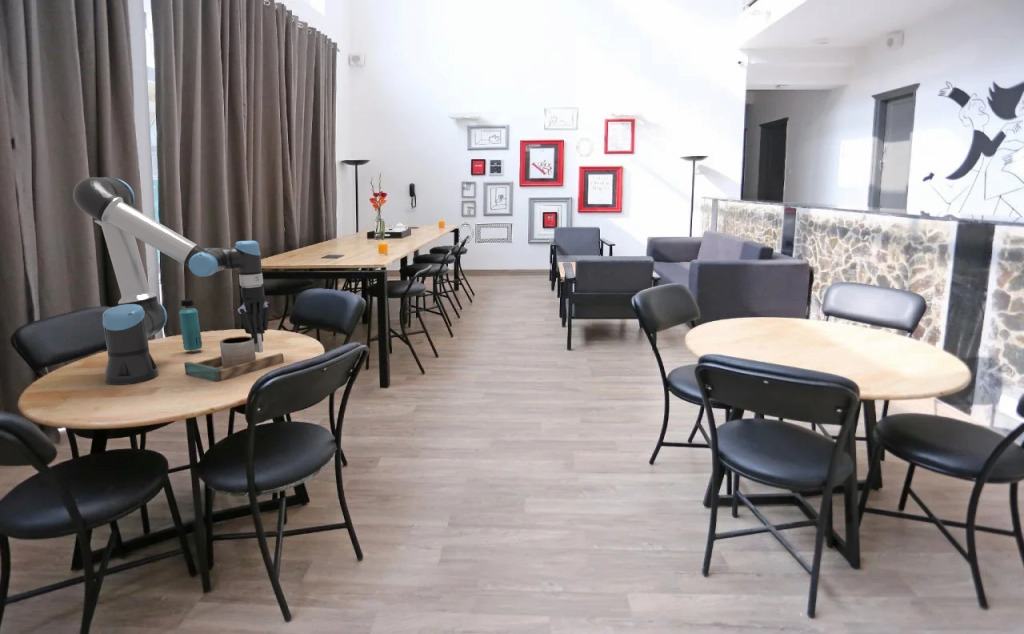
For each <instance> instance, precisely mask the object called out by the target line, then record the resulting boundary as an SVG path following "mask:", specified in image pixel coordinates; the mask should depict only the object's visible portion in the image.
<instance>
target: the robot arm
mask: <svg viewBox="0 0 1024 634" xmlns="http://www.w3.org/2000/svg"><path fill="white" fill-rule="evenodd" d="M72 194H73V195H72V197H73V201H74V203H75V205H76V206H77V208H79V210H80V211H82V212H83V213H85V215H86V214H87V215H88V216H90V217H91V218H93V221H94V223H96V224H98V225H99V226H100V227H101V230H102V232H103V236H104V239H105V242H106V248H107V250H108V254H109V257H110V260H111V263H112V267H113V271H114V274H115V278H116V281H117V284H118V288H119V291H120V296H121V298H120V299H119V300H118V301H117V303H118V305H117V306H112V307H110V308H108V309H107V308H106V310H105V311H104V312H103V313H102V326H103V331H104V338H105V343H106V344H105V345H106V350H107V351H106V352H107V363H106V367H105V373H104V381H105V383H106V384H110V385H128V384H136V383H141V382H146V381H148V380H152V379H154V378H155V377H157V376H158V375H159V368H158V366H157V363H156V362H155V360H154V358H153V357H152V354H151V353H150V348H149V346H150V345H149V339H148V338H150V337H152V336H154V335H157V334H158V333H159V332H160V331H161V330H162V329H163V328H164V327H165V326H166V323H167V320H168V313H167V311H166V308H165V306H164V305H162V304H161V303H160V302H159V300H158V297H157V294H156V293H154V292H152V291H151V290H150V285H149V283H148V279H147V275H146V272H145V268H144V264H143V261H142V258H141V254H140V250H139V246H138V244H137V239H138V240H139V241H141V242H143V243H145V244H146V245H149V246H151V247H152V248H154V249H155V250H157V251H159V252H161V253H162V254H165V255H166V256H168V257H170V258H172V259H174V260H176V261H177V262H179V263H181V264H183V265H184V266H186V267H188V268H189V270H190V271H191V273H192V274H193V275H195V276H196V277H200V278H201V277H203V278H204V277H208V276H212V275H214V274H215V273H218V272H220V271H229V270H237V271H238V276H239V278H238V279H239V285H240V296H241V299H242V302H241V306H240V307H237V308H236V310H235V311H236V312H237V314H238V315H239V318H240V320H241V323H242V326H243V328H244V331H245V334H248V335H249V334H250V335H251V336H250V337H253V338H254V347H255V353H259V354H260V353H263V352H264V348H263V347H264V346H263V342H264V334H265V333H266V331H268V328H269V320H270V319H269V318H270V309H271V307H272V303H271V302H268V301H266V299H265V288H264V285H263V284H264V276H263V270H262V257H261V254H262V253H261V249H260V245H259V242H258V241H256V240H240V241H236V242H235V246H234V247H207V248H203V247H201V246H199V245H198V244H196V243H195V242H194V241H191V239H187V238H186V237H185V236H183V235H181V234H179V233H178V232H175V231H174V230H172V229H171V228H168V226H165V225H163V224H162V223H160V222H159V221H156V220H154V219H153V218H151V217H149V216H148V215H147V214H144V213H143V212H141V211H139V210H138V209H136V208H134V207H133V206H134V204H135V202H136V201H135V199H136V198H135V193H134V190H133V189H132V187H131V186H130V185H129V184H128V183H127V182H125V181H124V180H122V179H121V178H120V179H119V178H115V177H111V176H109V177H107V176H104V177H96V176H95V177H94V176H92V177H85V178H83V179H81V180H80V181H78V183H77V184H76V185H75V186H74V188H73V193H72Z"/></svg>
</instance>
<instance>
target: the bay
mask: <svg viewBox="0 0 1024 634" xmlns="http://www.w3.org/2000/svg"><path fill="white" fill-rule="evenodd" d="M284 360H285V359H284V353H281V352H280V353H276V354H272V355H269V356H265V357H262V358H258V359H256V360H254V361H251V362H247V363H244V364H240V365H237V366H233V367H230V368H226V369H223V368H222V369H221V368H220V367H222V359H221V355H220V356H215V357H213V358H209V359H204V360H200V361H197V362H192V361H185V362H184V363H183V365H184V371H185V375H187V376H191V377H196V378H200V379H204V380H209V381H213V382H217V383H218V382H222V381H225V380H228V379H230V378H235V377H238V376H241V375H244V374H249V373H251V372H252V373H253V372H255V371H258V370H261V369H264V368H268V367H271V366H274V365H278V364H282V363H284Z"/></svg>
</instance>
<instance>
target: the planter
mask: <svg viewBox="0 0 1024 634" xmlns="http://www.w3.org/2000/svg"><path fill="white" fill-rule="evenodd" d="M219 348H220V349H219V350H220V356H221V359H222V366H221V368H222V369H226V368H230V367H233V366H237V365H240V364H244V363H247V362H251V361H254V360H257V356H256V352H255V347H254V338H253V337H251V336H249V335H246V336H245V335H244V336H243V335H242V336H241V335H240V336H232V337H231V336H230V337H227V338H223V339H221V340H220V341H219Z"/></svg>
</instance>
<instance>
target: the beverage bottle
mask: <svg viewBox="0 0 1024 634" xmlns="http://www.w3.org/2000/svg"><path fill="white" fill-rule="evenodd" d="M180 303H181V304H180V305H181V307H184V308H182V309H181V310H180V311H179V312H178V314H179V320H180V327H181V328H180V329H181V330H180V331H181V332H180V333H181V339H182V344H183V346H182V347H183V349H184V350H185V351H196V350H200V349H202V348H203V341H202V339H203V338H202V335H201V328H200V327H201V325H200V319H199V313H198V312H199V311H198V309H196V308H194V307H192V306H194V305H195V304H194V300H193V299H191V298H190V299H183V300H181V301H180Z"/></svg>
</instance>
